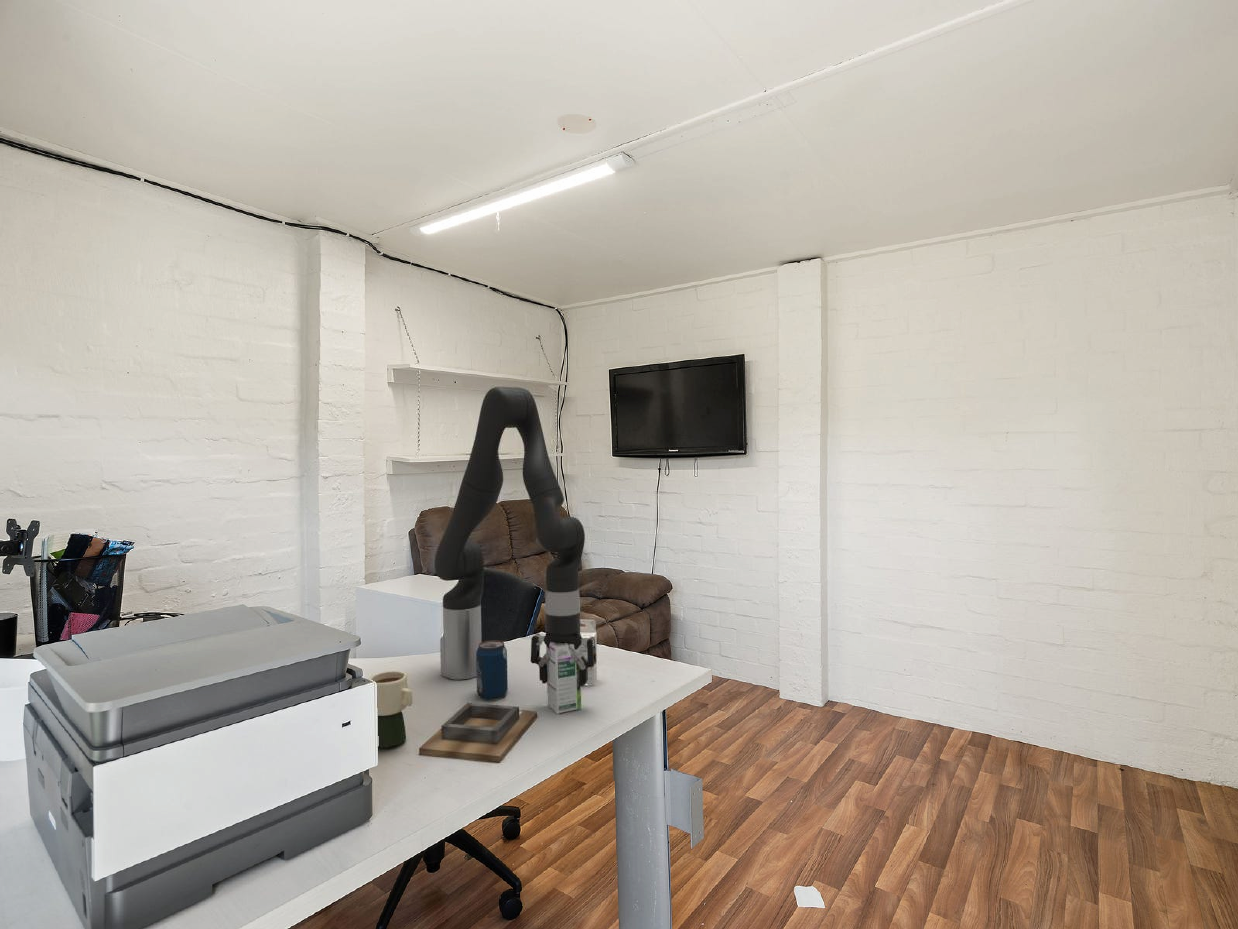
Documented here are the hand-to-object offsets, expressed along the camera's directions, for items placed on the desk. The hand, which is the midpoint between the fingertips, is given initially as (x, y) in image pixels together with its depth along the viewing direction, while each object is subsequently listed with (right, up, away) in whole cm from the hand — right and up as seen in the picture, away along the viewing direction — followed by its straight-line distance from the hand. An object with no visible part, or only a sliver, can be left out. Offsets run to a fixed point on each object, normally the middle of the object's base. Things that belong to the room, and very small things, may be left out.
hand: (563, 683), depth 142 cm
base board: (-15, -6, -13) cm, 21 cm away
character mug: (-32, -6, -16) cm, 37 cm away
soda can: (-17, -5, +7) cm, 19 cm away
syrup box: (0, -5, 0) cm, 5 cm away
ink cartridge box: (+2, -5, +15) cm, 16 cm away
